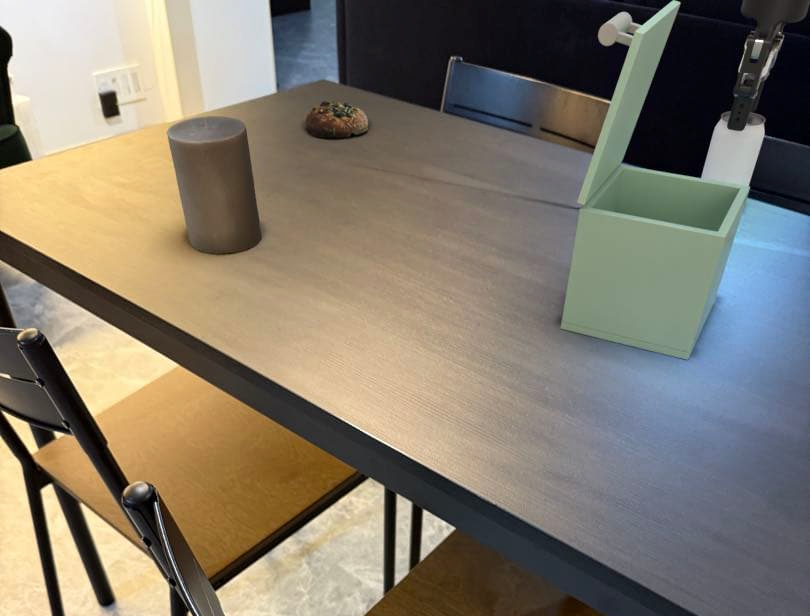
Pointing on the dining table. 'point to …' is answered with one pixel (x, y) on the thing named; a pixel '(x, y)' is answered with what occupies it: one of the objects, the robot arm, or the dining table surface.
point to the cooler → (651, 258)
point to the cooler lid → (627, 89)
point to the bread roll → (336, 120)
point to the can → (734, 151)
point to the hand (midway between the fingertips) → (740, 120)
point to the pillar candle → (215, 183)
